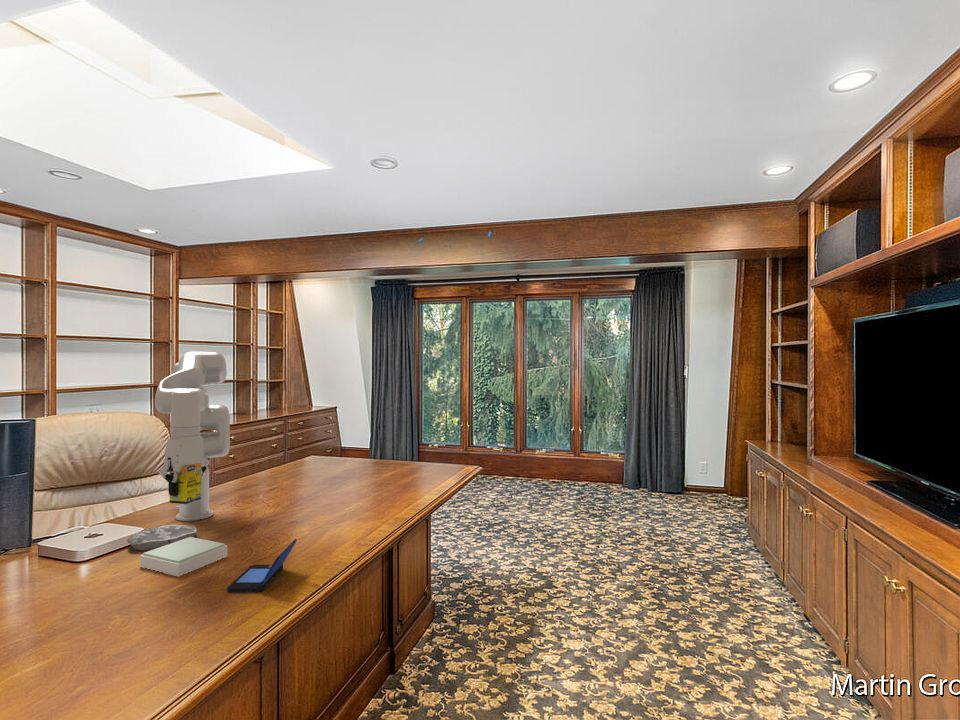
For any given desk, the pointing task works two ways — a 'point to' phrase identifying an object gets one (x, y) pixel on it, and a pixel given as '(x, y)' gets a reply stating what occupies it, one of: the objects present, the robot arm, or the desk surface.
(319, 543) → the desk surface
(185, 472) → the supplement box
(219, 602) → the desk surface
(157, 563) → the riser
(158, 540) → the brain slice
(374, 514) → the desk surface
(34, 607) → the desk surface
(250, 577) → the handheld game console
